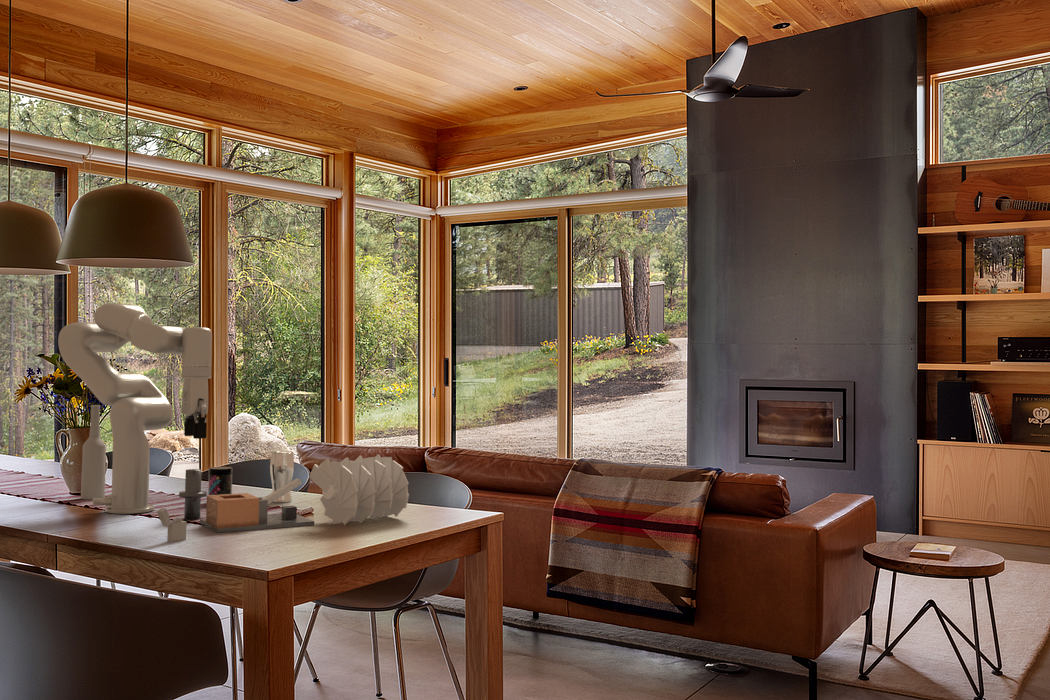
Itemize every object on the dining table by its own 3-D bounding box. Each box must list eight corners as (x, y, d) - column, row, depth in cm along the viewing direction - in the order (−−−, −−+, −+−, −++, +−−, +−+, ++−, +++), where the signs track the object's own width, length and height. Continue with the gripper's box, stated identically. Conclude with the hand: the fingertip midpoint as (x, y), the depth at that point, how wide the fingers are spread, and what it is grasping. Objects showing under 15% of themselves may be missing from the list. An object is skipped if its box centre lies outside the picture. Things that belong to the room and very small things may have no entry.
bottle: (95, 500, 276) (98, 406, 277) (75, 499, 278) (78, 405, 278) (109, 497, 283) (112, 405, 283) (90, 496, 284) (93, 404, 285)
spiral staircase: (404, 532, 257) (336, 539, 237) (366, 498, 267) (297, 503, 247) (429, 474, 253) (361, 477, 233) (389, 443, 263) (321, 443, 243)
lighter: (181, 538, 220) (182, 504, 220) (186, 539, 219) (187, 505, 219) (155, 543, 214) (156, 508, 214) (160, 544, 213) (161, 509, 213)
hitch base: (216, 533, 228) (217, 502, 228) (199, 523, 241) (200, 494, 241) (314, 525, 241) (315, 496, 242) (293, 516, 255) (294, 488, 255)
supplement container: (208, 501, 279) (209, 466, 279) (232, 501, 280) (233, 466, 281) (206, 504, 272) (207, 469, 272) (230, 504, 274) (231, 469, 274)
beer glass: (267, 500, 283) (268, 451, 283) (290, 499, 286) (291, 450, 286) (271, 503, 277) (272, 453, 277) (294, 502, 280) (296, 452, 280)
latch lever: (262, 507, 241) (259, 503, 240) (259, 506, 243) (257, 501, 242) (302, 483, 247) (299, 479, 246) (299, 482, 249) (296, 478, 248)
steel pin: (181, 521, 243) (183, 471, 243) (175, 517, 249) (176, 469, 249) (209, 519, 247) (210, 470, 247) (202, 515, 253) (203, 468, 253)
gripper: (174, 372, 254) (172, 435, 253) (190, 373, 239) (188, 439, 239) (202, 373, 258) (201, 434, 257) (219, 373, 243) (218, 439, 243)
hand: (195, 437), depth 248 cm, fingers open, 9 cm apart
